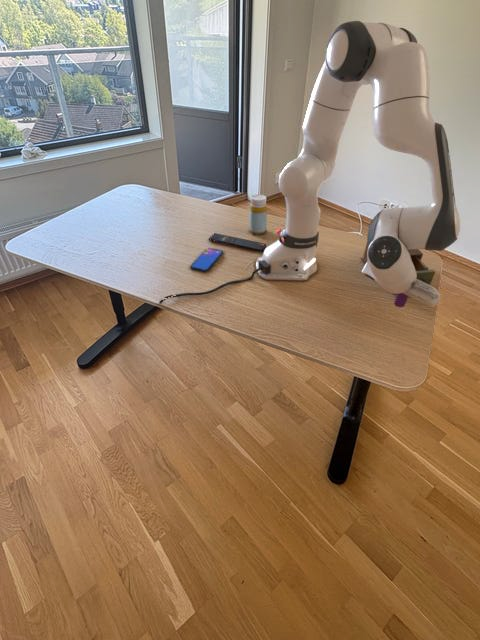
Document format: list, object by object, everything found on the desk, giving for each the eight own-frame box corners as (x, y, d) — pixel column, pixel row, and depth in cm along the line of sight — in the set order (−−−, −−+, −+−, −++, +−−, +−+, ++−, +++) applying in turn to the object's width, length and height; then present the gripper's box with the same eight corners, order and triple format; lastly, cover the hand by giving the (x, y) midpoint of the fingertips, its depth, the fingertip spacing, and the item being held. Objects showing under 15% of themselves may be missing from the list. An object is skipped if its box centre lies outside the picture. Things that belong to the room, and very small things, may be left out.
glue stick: (396, 307, 100) (405, 285, 95) (391, 301, 102) (400, 279, 97) (406, 307, 100) (415, 284, 95) (401, 300, 103) (410, 278, 97)
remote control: (214, 235, 147) (214, 233, 146) (267, 247, 139) (267, 244, 138) (209, 241, 143) (208, 238, 142) (262, 253, 136) (262, 250, 135)
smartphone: (189, 266, 127) (207, 247, 137) (189, 268, 128) (207, 249, 138) (206, 270, 125) (223, 250, 135) (207, 272, 126) (224, 252, 136)
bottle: (264, 235, 146) (266, 201, 137) (248, 234, 148) (248, 200, 138) (267, 228, 152) (268, 194, 142) (251, 227, 153) (251, 193, 143)
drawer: (434, 299, 110) (443, 279, 105) (399, 302, 109) (406, 282, 104) (407, 269, 124) (414, 250, 118) (376, 272, 123) (381, 252, 117)
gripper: (444, 282, 81) (447, 298, 92) (369, 249, 93) (380, 267, 104) (428, 305, 82) (433, 318, 93) (356, 269, 94) (368, 285, 105)
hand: (404, 291), depth 99 cm, fingers closed on glue stick, 3 cm apart
